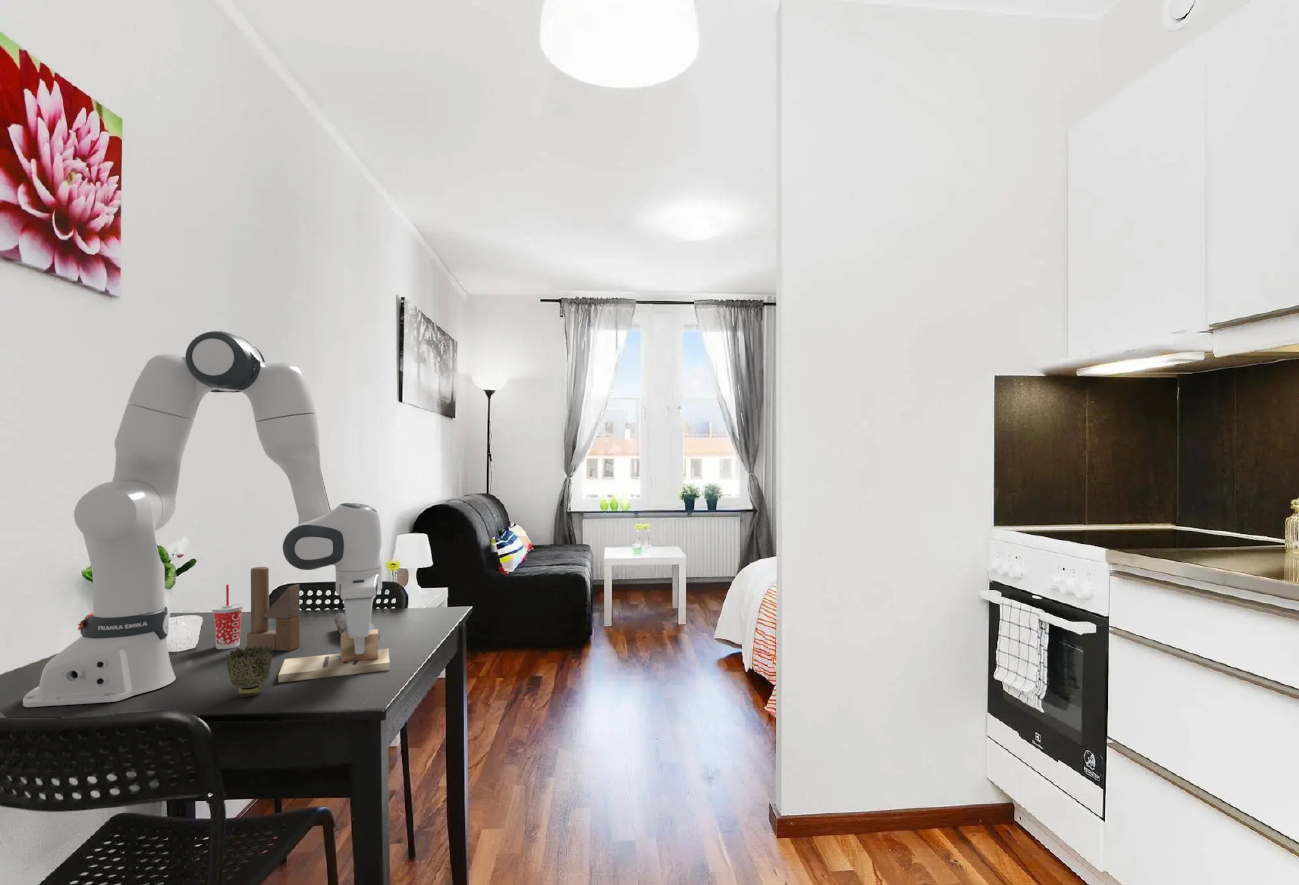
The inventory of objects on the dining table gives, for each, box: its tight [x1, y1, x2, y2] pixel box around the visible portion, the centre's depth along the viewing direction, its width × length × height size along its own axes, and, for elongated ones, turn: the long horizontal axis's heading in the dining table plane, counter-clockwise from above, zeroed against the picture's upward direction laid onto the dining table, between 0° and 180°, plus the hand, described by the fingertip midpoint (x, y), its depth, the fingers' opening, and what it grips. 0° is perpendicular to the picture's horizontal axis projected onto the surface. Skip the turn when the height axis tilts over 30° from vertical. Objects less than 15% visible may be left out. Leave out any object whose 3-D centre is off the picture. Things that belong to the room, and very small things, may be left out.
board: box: [277, 648, 391, 683], centre depth 147 cm, size 20×11×2 cm, turn 111°
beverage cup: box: [211, 584, 244, 650], centre depth 165 cm, size 6×6×14 cm
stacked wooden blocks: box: [246, 566, 301, 652], centre depth 163 cm, size 4×11×18 cm, turn 80°
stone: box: [334, 612, 381, 641], centre depth 173 cm, size 17×5×10 cm
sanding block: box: [340, 628, 379, 662], centre depth 148 cm, size 7×4×5 cm, turn 111°
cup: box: [225, 646, 274, 698], centre depth 132 cm, size 8×7×8 cm
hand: (360, 649), depth 148 cm, fingers closed on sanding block, 4 cm apart
